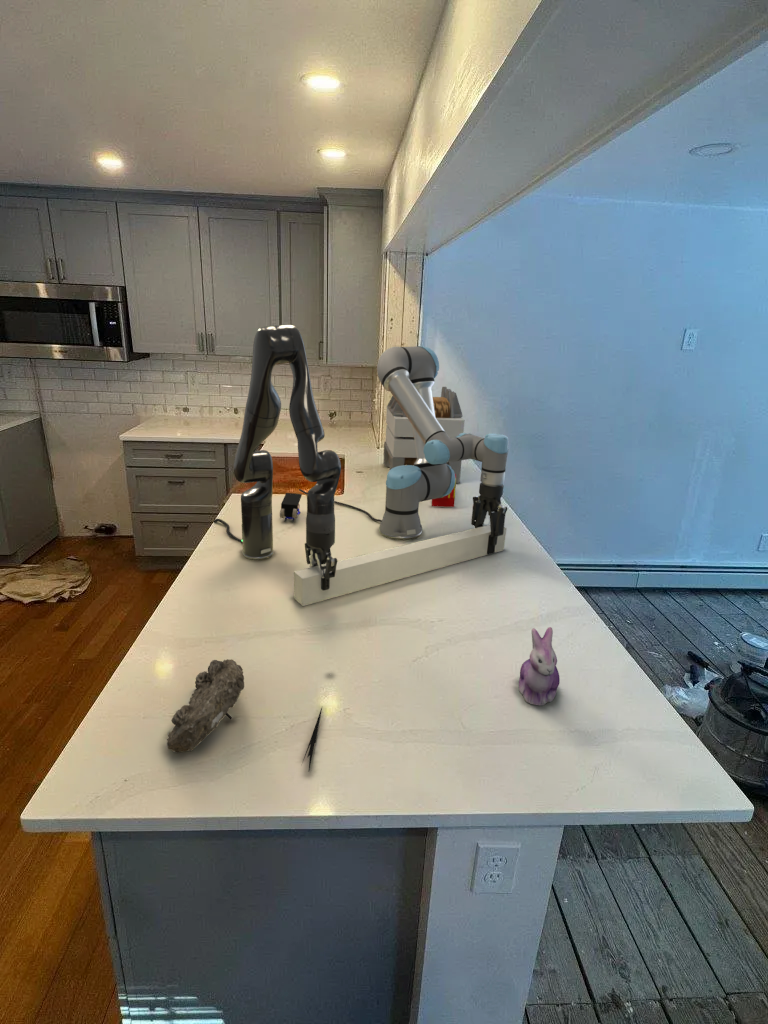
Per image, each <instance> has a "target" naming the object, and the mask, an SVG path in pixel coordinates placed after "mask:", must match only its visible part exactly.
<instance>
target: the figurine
mask: <svg viewBox="0 0 768 1024" xmlns="http://www.w3.org/2000/svg"><path fill="white" fill-rule="evenodd" d="M553 635H554V631H553V627H551V626H549V627H547V628H546V630H545V632H544V634H543V637H542V636H541V634H540V633H539V632H538V630H537V629H536V628H535V627H534V628H532V629H531V642H532V644H531V645H532V649H531V651H530V653H529V658H528V659H526V660H525V661H524V662H523V663H522V664H521V666H520V668H519V669H520V670H519V679H518V690H519V693H520V694H521V695H522V696H523V697H524V698H523V699H524V700H525V702H526V703H528V704H531V705H535V706H545V705H546V704H547V703H551V702H553V701H554V699H555V697H556V694H557V691H558V688H559V686H560V680H561V677H560V673H559V669H558V668H557V665H558V658H557V655H556V652H555V650H554V648H553Z"/></svg>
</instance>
